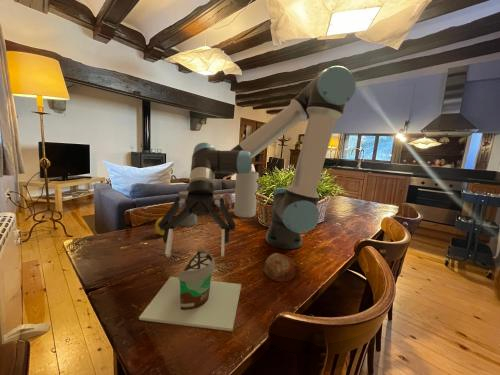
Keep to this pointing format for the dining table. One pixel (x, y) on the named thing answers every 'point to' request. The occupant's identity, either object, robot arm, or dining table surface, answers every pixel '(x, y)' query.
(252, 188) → the cylinder vase
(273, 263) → the bread roll
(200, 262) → the food container
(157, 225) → the lemon
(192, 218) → the coffeepot
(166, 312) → the mat
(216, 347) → the dining table surface
